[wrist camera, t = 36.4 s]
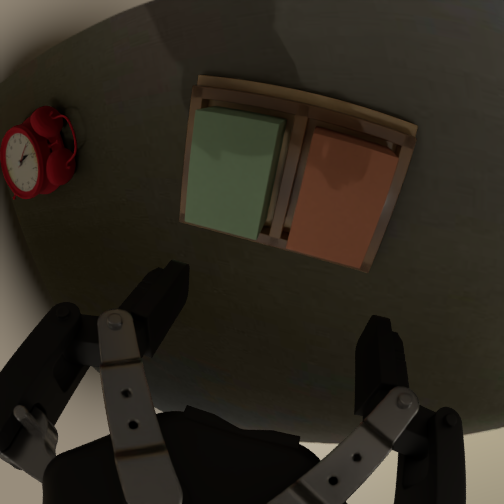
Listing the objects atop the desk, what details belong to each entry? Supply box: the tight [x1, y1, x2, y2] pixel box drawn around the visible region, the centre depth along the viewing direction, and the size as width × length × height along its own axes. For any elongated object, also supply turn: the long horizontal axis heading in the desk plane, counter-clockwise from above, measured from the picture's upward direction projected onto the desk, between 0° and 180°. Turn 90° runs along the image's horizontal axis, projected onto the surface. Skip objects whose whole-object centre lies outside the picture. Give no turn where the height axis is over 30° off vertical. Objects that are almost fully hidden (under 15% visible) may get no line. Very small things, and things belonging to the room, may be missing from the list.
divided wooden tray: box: [179, 75, 418, 273], centre depth 25 cm, size 14×18×2 cm
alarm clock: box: [0, 106, 77, 199], centre depth 28 cm, size 10×6×15 cm
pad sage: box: [185, 106, 287, 240], centre depth 24 cm, size 9×6×4 cm, turn 170°
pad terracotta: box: [286, 126, 399, 269], centre depth 23 cm, size 9×6×4 cm, turn 170°
